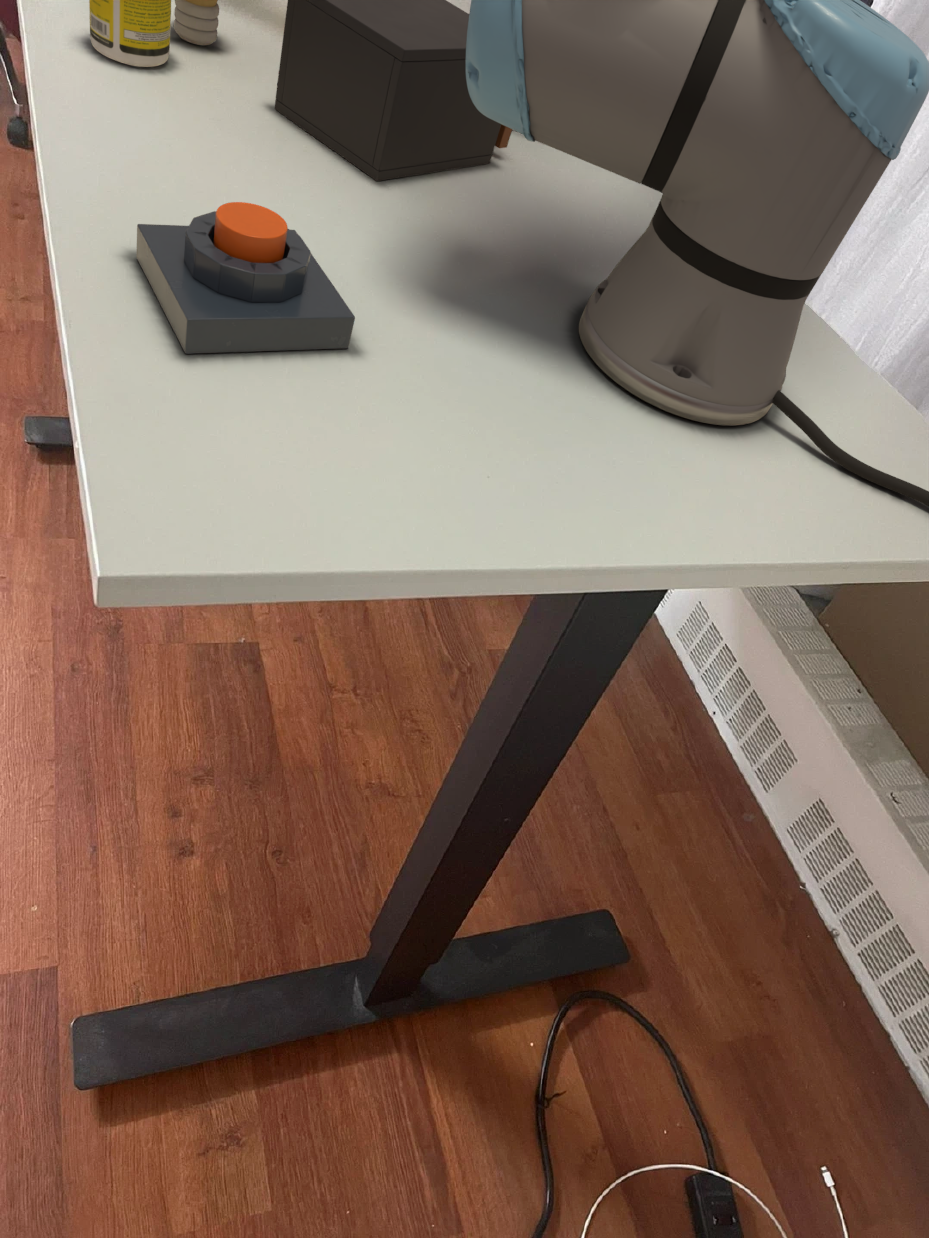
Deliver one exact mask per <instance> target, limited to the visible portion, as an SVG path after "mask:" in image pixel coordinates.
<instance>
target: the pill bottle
mask: <svg viewBox="0 0 929 1238" xmlns="http://www.w3.org/2000/svg"><path fill="white" fill-rule="evenodd" d="M88 3H89V4H88V6H89V36H90V37H89V38H90V42H91V45H92V48H94V49H95V50H96V51H97V53H100V54H101V55H103V56H104V57H106V58H109V59H110V60H113V61H116V62H118V63H121V64H123V65H124V64H125V65H128V66H132V67H133V66H134V67H137V68H138V67H140V68H150V67H151V68H153V67H158V66H161V65H163V64H165V63H166V62H167V61H168V60H169V57H170V48H171V25H172V24H171V20H172V19H171V17H172V0H89V1H88Z"/></svg>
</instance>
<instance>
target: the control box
mask: <svg viewBox="0 0 929 1238" xmlns="http://www.w3.org/2000/svg"><path fill="white" fill-rule="evenodd" d="M216 211H217V210H216ZM216 211H215V210H214V211H210V212H207V213H204V214H201V215H198V216H195V217H193V218H192V219H191V221H190V223H189V225H177V224H150V223H149V224H148V223H138V224H137V226H136V254H135V255H136V260H137V261H138V263H139V265H140V267H141V269H142V271H143V274H144V276H145V277H146V279H147V281H148V283H149V285H150V287H151V289H152V291H153V293H154V295H155V297H156V299H157V302H158V304H159V305H160V306H161V309H162V311H163V313H164V314H165V316H166V319H167V320H168V322H169V324H170V326H171V328H172V331H173V332H174V334H175V336H176V338H177V340H178V342H179V344H180V346H181V348H182V350H183V352H184V354H187V355H188V354H189V355H191V354H217V353H218V354H219V353H220V354H221V353H222V354H223V353H248V352H279V351H280V352H281V351H309V350H337V349H338V350H339V349H349V348H350V343H351V339H352V333H353V329H354V325H355V320H356V316H355V314H354V313H353V312H352V310H351V309H350V307H349V306H348V305H347V303H346V302H345V300H344V299H343V297H342V296H341V295H340V293H339V291H338V290H337V288H336V287H335V286H334V284H333V283H332V281H331V280H330V279H329V277H328V276H327V274H326V273H325V271H324V269H322V267H321V265H320V264H319V263H318V261H317V259H316V258H315V257H314V255H313V253H312V252H311V250H310V248H309V247H308V245H307V244H306V243H305V241H304V239H303V238H302V237H301V235H299V233H298V232H297V231H296V230H295V229H290V228H288V230H287V236H286V243H285V250H284V256H283V259H282V260H280V261H277V262H275V263H252V262H248V261H245V260H241V259H238V258H234V257H231V256H229V255H228V254H226V253H224V252H223V251H221V250H219V249H218V248H216V247H215V245H214V230H215V218H216Z"/></svg>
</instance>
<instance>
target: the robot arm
mask: <svg viewBox="0 0 929 1238" xmlns="http://www.w3.org/2000/svg"><path fill="white" fill-rule="evenodd" d="M469 6H470V7H469V13H468V14H469V21H468V29H467V41H466V81H467V88H468V92H469V95H470V98H471V100H472V102H473V104H474V105H475V107H476V108H477V109H478V111H479V112H481V113H482V114H483V115H485V116H486V117H488V118H490V119H492V120H494V121H496V122H498V123H500V124H502V125H504V126H506V127H508V128H510V129H512V131H515V132H517V133H519V134H521V135H523V136H524V139H526V140H527V141H528V142H533V143H535V142H538V143H540V144H542V145H546V146H548V147H550V148H553V149H554V150H558V151H559V152H563V153H564V154H567V155H570V156H571V157H574V158H577V159H578V160H579V159H580V160H581V161H583V162H585V163H589V164H591V165H593V166H596V167H599V168H601V169H603V170H605V171H608V172H610V173H613V174H615V175H618V176H620V177H622V178H624V179H627V180H629V181H632V182H635V183H637V184H639V185H642V186H645V187H648V188H650V189H652V190H655V191H656V192H659V193H661V194H662V195H661V197H660V200H659V202H658V205H657V207H656V209H655V211H654V214H653V216H652V217H651V220H650V222H649V224H648V226H647V228H646V230H645V231H644V232H643V233H642V235H641V236H640V237H639V238H638V239H637V240H636V241H635V242H634V244H633V245H632V246H631V247H630V248H629V250H628V251H627V252H626V253H625V254H624V256H623V257H622V258H621V259H620V260H619V261H618V263H617V264H616V265H615V267H614V268H613V269H612V271H611V272H610V273H609V275H608V276H607V278H606V279H604V280H603V281H601V282H600V283H599V284H598V286H597V287H596V288H595V289H594V291H593V293H592V294H591V295H590V296H589V298H588V300H587V302H586V305H585V307H584V309H583V312H582V314H581V316H580V319H579V322H578V334H579V338H580V341H581V344H582V346H583V347H584V349H585V351H586V352H587V354H588V356H589V357H590V358H591V360H592V361H593V362H594V363H595V364H596V366H597V367H598V368H599V369H601V371H602V372H603V373H604V374H606V376H608V377H609V378H610V379H611V380H612V381H614V382H615V383H616V384H618V386H620V387H621V388H623V389H624V390H626V391H628V392H629V393H630V394H632V395H634V396H635V397H636V398H639V399H641V400H642V401H643V402H646V403H647V404H650V405H652V406H654V407H655V408H657V409H660V410H663V411H664V412H667V413H670V414H672V415H675V416H678V417H681V418H684V419H686V420H691V421H695V422H697V423H698V422H699V423H703V424H709V425H715V426H717V425H718V426H743V425H747V424H752V423H754V422H757V421H759V420H760V419H763V418H764V417H765V416H766V414H768V413H769V411H770V409H771V408H772V406H773V405H774V406H775V407H776V408H777V409H778V410H780V411H781V412H782V414H784V415H785V416H786V417H787V418H788V419H789V420H791V422H793V423H794V424H795V425H796V426H797V427H798V428H799V429H800V430H801V431H802V432H803V433H804V434H805V435H806V437H808V438H809V439H810V441H812V443H814V445H815V446H816V447H817V448H818V449H819V450H820V451H821V452H822V453H823V454H824V455H826V456H827V457H828V458H829V459H831V461H833V462H835V463H836V464H838V465H839V466H840V467H842V468H844V469H846V470H847V471H849V472H851V473H852V474H854V475H856V476H858V477H860V478H862V479H865V480H866V481H869V482H871V483H872V484H873V483H874V484H875V485H878V486H880V487H883V488H885V489H888V490H891V491H892V492H895V493H898V494H899V495H903V496H905V497H907V498H910V499H912V500H914V501H916V502H918V503H920V504H922V505H924V506H926V507H928V508H929V490H927V489H925V488H922V487H920V486H918V485H916V484H914V483H911V482H908V481H906V480H904V479H901V478H898V477H896V476H894V475H891V474H889V473H886V472H884V471H882V470H879V469H877V468H876V467H873V466H871V465H869V464H867V463H865V462H863V461H861V460H859V459H858V458H856V457H854V456H853V455H851V454H850V453H848V452H847V451H845V450H844V449H842V448H841V447H839V446H838V445H837V444H836V443H835V442H834V441H833V440H832V439H830V437H828V436H827V435H826V433H825V432H824V431H823V430H822V428H820V427H819V426H818V425H817V423H815V422H814V421H813V420H812V418H810V416H808V415H807V414H806V413H805V412H804V411H803V410H802V409H800V408H799V406H798V405H796V404H795V403H794V402H793V401H792V400H791V399H789V397H788V396H786V395H785V394H784V393H783V392H782V390H783V386H784V383H785V381H786V378H787V367H788V364H789V361H790V358H791V354H792V351H793V348H794V344H795V340H796V336H797V332H798V328H799V324H800V320H801V316H802V313H803V309H804V306H805V303H806V301H807V299H808V298H809V295H810V294H811V293H812V291H813V289H814V288H815V286H816V284H817V283H818V281H819V279H820V278H821V276H822V274H824V271H825V270H826V268H827V266H828V265H829V263H830V262H831V259H833V257H834V255H835V253H837V250H838V248H839V246H841V244H842V242H843V240H844V238H846V235H847V234H848V233H849V231H850V229H851V228H852V225H854V222H855V220H856V219H857V218H858V216H859V214H860V212H861V211H862V209H863V207H864V206H865V204H866V202H867V201H868V199H869V198H870V196H871V195H872V193H873V191H874V189H875V188H876V186H877V185H878V183H879V181H880V179H881V177H882V176H883V175H884V173H885V171H886V170H887V168H888V167H889V165H890V163H891V162H892V161H894V160H896V159H897V158H898V157H899V155H900V153H901V150H902V148H901V147H902V146H903V143H904V142H905V139H906V138H907V136H908V134H909V132H910V131H911V128H912V126H913V124H914V122H915V120H916V118H917V116H918V115H919V113H920V111H921V109H922V107H923V105H924V103H925V102H926V99H927V97H928V94H929V59H928V57H927V56H926V54H925V53H924V51H923V50H922V49H921V48H920V47H919V45H917V43H915V42H914V41H913V40H912V38H910V37H909V36H908V35H907V34H906V33H905V32H903V30H901V29H899V28H898V27H897V26H896V25H895V24H894V23H892V22H891V21H890V20H889V19H888V18H886V17H884V16H883V15H882V14H880V13H879V12H878V11H876V10H875V9H873V8H872V7H871V6H869V5H868V4H867V3H865V2H863V1H861V0H471V1H470V5H469Z"/></svg>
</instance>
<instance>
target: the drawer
mask: <svg viewBox="0 0 929 1238" xmlns="http://www.w3.org/2000/svg"><path fill="white" fill-rule="evenodd" d="M512 131H513V129H510V128H508V127H506V126H504V125H502V124H501V127H500V130H499V134H498V137H497V140H496V144H495V147H496V148H497V149H505V148H507V147H508V144H509V142H510V139H511V135H512Z"/></svg>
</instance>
